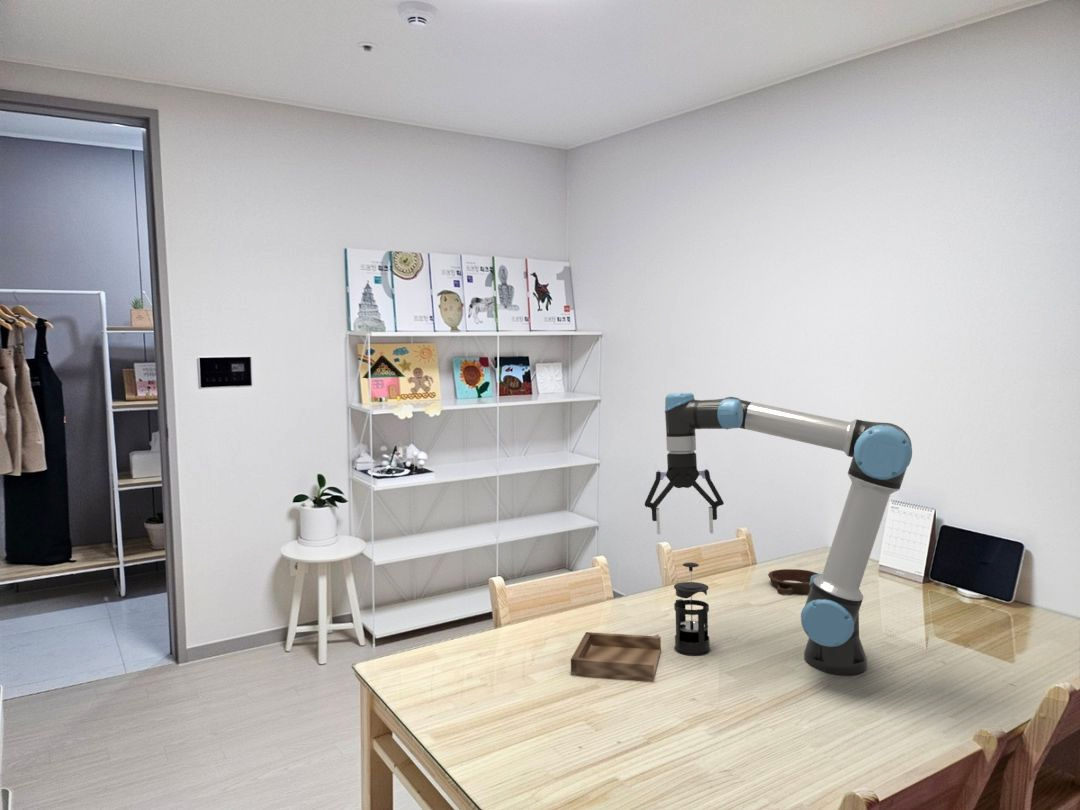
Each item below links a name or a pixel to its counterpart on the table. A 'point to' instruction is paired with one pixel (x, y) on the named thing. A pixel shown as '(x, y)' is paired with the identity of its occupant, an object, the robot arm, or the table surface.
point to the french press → (691, 633)
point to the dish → (791, 575)
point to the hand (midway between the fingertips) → (684, 533)
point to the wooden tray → (617, 656)
